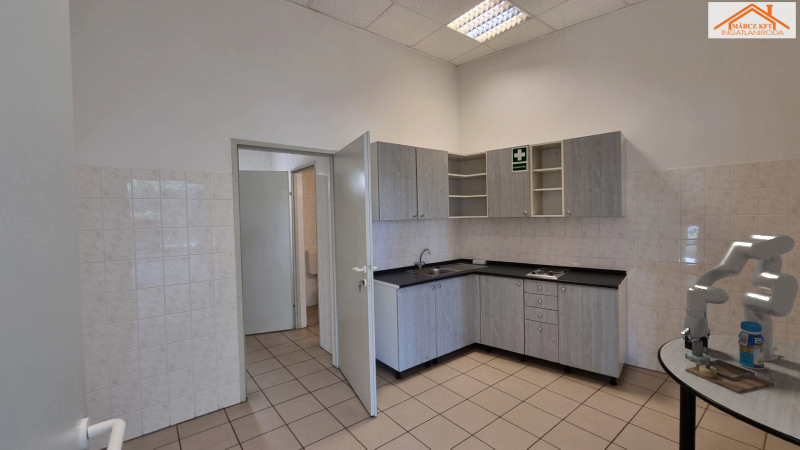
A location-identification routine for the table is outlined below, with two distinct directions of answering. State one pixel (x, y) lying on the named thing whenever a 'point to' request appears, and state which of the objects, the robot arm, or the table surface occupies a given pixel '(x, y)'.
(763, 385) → the carrier
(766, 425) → the table surface
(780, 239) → the robot arm
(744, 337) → the beverage bottle
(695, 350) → the gear
